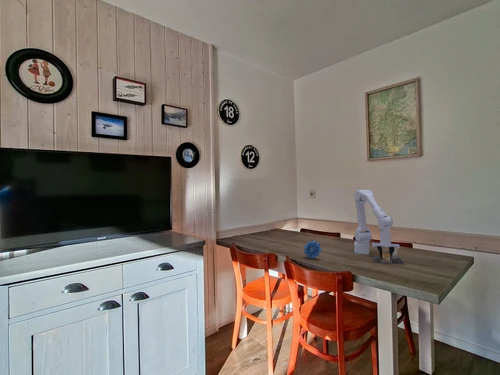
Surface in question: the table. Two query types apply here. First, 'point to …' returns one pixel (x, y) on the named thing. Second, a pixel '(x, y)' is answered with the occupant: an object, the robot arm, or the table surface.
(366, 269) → the table surface
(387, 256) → the taped cardboard box
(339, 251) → the table surface
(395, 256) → the post
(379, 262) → the base board
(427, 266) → the table surface
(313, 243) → the grapes
